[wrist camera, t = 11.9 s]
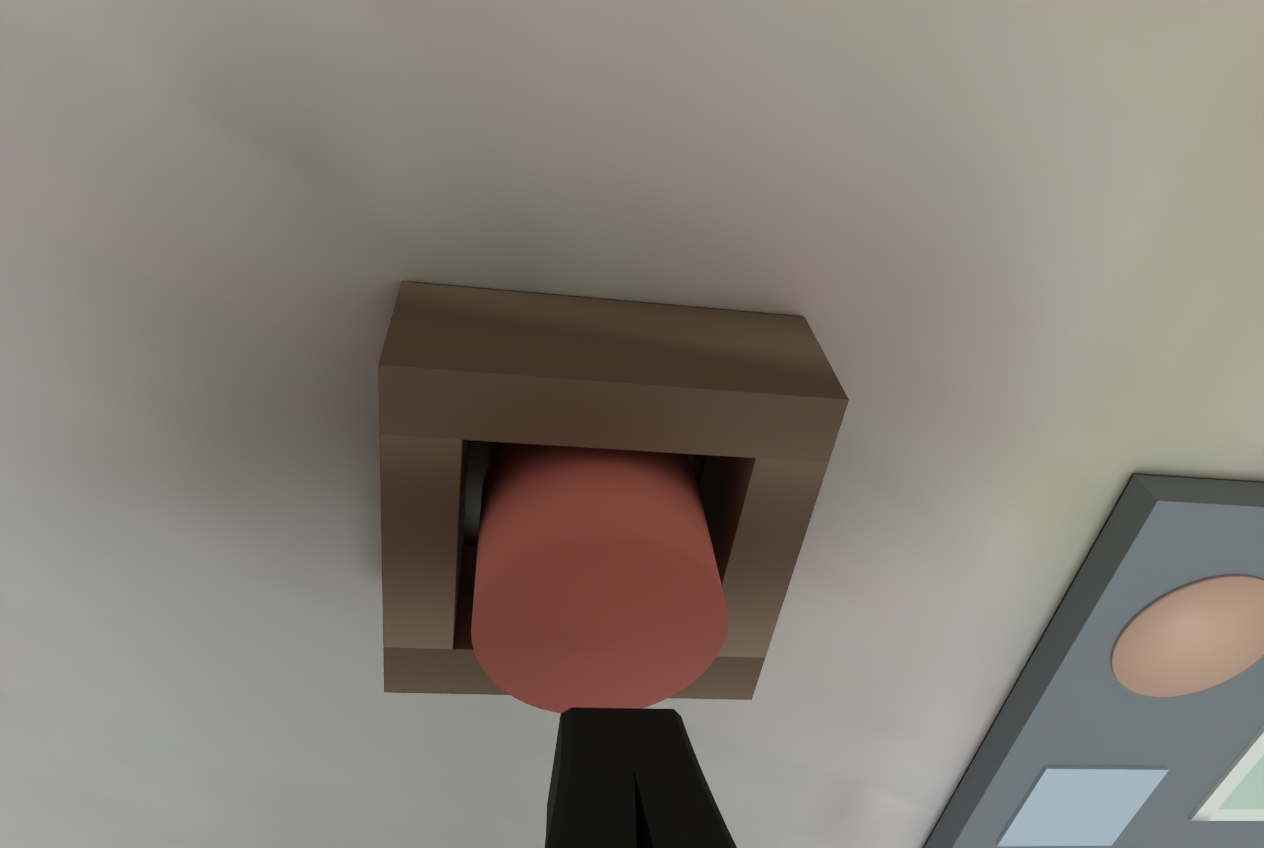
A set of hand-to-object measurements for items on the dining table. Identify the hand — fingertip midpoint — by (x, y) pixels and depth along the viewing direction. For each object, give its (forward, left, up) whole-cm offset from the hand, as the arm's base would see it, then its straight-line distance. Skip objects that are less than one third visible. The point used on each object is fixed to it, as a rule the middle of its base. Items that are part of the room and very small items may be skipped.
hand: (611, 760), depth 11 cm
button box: (0, 0, -6) cm, 6 cm away
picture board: (-6, -18, -6) cm, 20 cm away
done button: (0, 0, -6) cm, 6 cm away
